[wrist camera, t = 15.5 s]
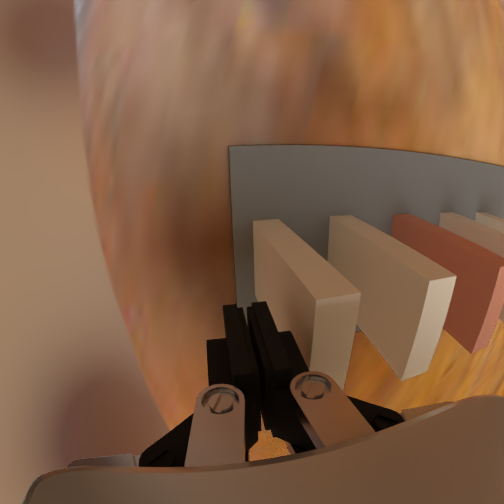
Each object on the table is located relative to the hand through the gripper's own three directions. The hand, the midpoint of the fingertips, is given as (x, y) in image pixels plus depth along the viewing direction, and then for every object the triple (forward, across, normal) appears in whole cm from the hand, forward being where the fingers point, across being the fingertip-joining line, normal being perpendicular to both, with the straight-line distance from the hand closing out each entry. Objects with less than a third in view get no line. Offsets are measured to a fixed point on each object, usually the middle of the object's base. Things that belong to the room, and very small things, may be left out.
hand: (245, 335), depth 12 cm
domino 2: (+8, -7, 0) cm, 11 cm away
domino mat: (+8, -17, 0) cm, 19 cm away
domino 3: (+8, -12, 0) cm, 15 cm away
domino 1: (+8, -2, 0) cm, 8 cm away
